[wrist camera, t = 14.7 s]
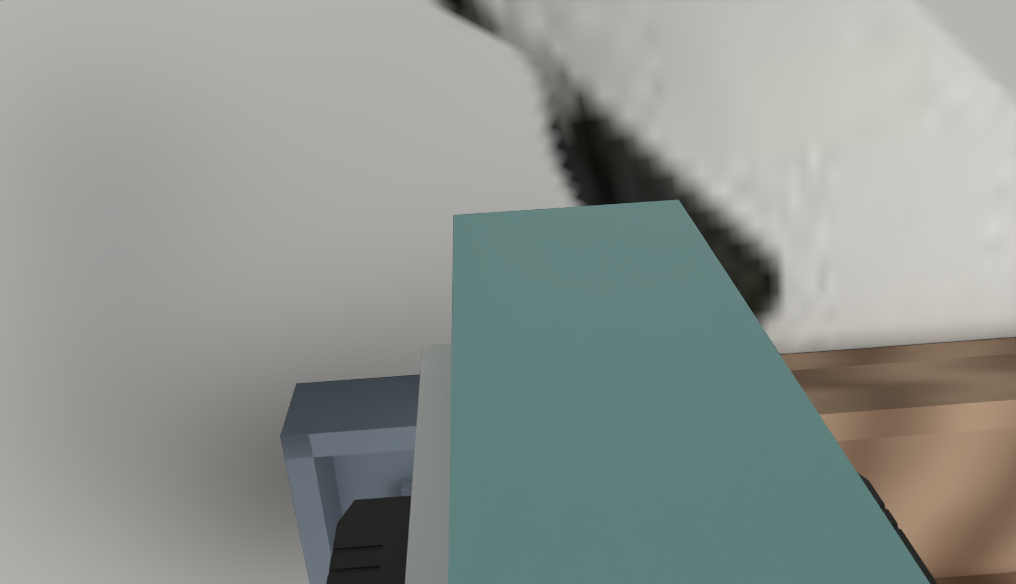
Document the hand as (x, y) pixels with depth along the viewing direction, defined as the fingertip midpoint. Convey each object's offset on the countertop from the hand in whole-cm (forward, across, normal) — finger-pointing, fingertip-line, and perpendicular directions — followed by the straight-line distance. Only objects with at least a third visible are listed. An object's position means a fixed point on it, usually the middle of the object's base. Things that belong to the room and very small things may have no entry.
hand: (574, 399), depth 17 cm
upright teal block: (+1, 0, 0) cm, 1 cm away
